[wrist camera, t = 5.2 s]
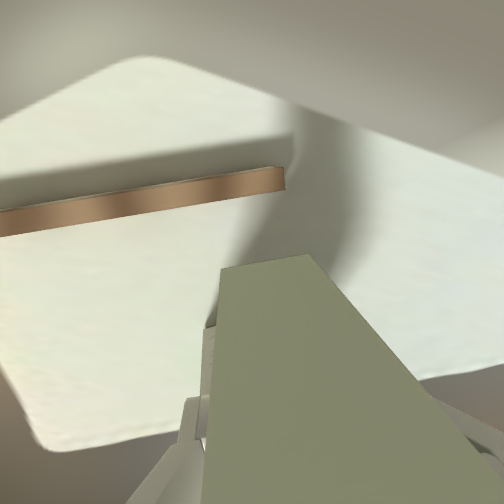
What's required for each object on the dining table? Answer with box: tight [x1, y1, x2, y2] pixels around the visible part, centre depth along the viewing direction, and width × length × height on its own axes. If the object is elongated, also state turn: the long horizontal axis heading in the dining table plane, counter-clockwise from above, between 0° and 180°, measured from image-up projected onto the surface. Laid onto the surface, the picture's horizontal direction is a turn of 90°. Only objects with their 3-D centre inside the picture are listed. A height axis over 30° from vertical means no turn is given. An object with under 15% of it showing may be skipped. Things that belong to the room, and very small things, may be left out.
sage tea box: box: [200, 253, 504, 504], centre depth 9 cm, size 7×4×11 cm, turn 9°
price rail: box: [0, 166, 286, 237], centre depth 21 cm, size 22×2×2 cm, turn 98°
